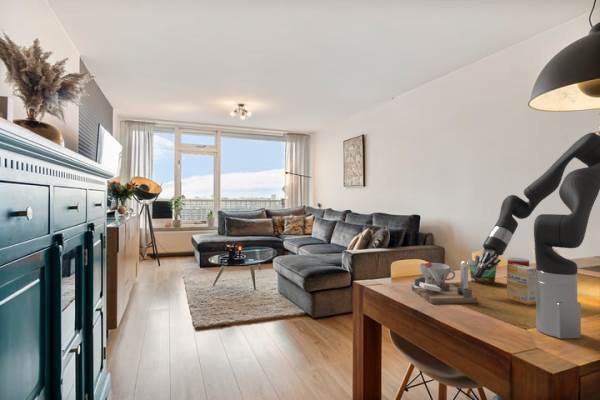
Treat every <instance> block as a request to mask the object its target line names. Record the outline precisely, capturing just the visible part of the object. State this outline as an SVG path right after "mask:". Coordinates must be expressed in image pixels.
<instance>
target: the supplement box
mask: <svg viewBox="0 0 600 400" xmlns="http://www.w3.org/2000/svg"><path fill="white" fill-rule="evenodd" d="M506 264H507V265H506V299H507V300H511V301H513V302H514V301H515V302H518V303H522V304H524V305H527V306H529V305H536V267H533V266H530V265H529V266H524V265H519V264H508V263H506Z"/></svg>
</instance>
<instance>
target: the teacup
mask: <svg viewBox="0 0 600 400" xmlns="http://www.w3.org/2000/svg"><path fill="white" fill-rule="evenodd" d="M425 263H426V262H425ZM425 263H423V262H422V263H420V264H419V269H420V272H421V277H425V282H426V283H427V284H437V282H436V280H435V279H434V277H433V276H432V275H431V273H430V272H429V270H428V269H427V268H426V267H425ZM430 263H431V264H432V266H433V268H434V269H435V271H436V272H437V274H438V275H439V277H440V278H441V280H442V281H452V280H453V279H455V277H456V272H455V271H454V270H453V269H451V267H450V265H448V264H445V263H441V262H440V263H439V262H430ZM449 274H453V276H452V277H449V278H448V276H449Z"/></svg>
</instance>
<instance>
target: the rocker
mask: <svg viewBox="0 0 600 400" xmlns="http://www.w3.org/2000/svg"><path fill="white" fill-rule="evenodd" d="M419 286H421V287H422V288H424V289H428V290H433V291H438V292H440V290H441V288H440V287H438V286H436V285H432V284H430V283H428V282H425V283H422V282H420V284H419Z"/></svg>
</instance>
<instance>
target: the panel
mask: <svg viewBox="0 0 600 400" xmlns="http://www.w3.org/2000/svg"><path fill="white" fill-rule="evenodd" d="M445 281H446V280H445ZM445 281H443V283H441V287H440V286H439V285H438V283H437V284H432V285H436V286H438V287H440V288H441V290H440V292H438V291H433V290H428V289H424V288H422V287H421V286H417V285H415V283H409V285H410V286H411V290H412V291H413V292H414V291H415V292H414V293H416V294H417V295H419V297H421V298H423V299H424V300H426V302H428V303H430V304H431V305H436V304H437V305H440V304H441V305H442V304H446V305H447V304H478V300H479V299H478V297H477V296H475V295H474V294H472V289H468V290H463V294H461V286H456V285H454V284H453V283H448V282H447V283H446V282H445Z"/></svg>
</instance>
